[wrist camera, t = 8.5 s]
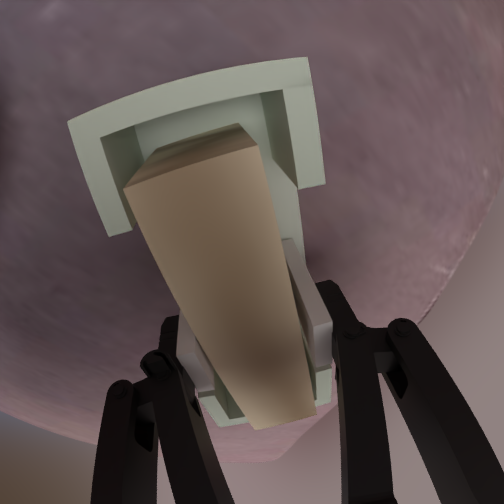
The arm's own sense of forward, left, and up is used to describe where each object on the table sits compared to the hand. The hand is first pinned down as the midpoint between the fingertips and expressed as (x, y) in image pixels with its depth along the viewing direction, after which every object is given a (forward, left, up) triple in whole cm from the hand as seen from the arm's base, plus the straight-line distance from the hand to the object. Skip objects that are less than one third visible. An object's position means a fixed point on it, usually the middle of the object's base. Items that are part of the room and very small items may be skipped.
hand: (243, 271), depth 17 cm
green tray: (0, 0, -1) cm, 1 cm away
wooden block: (0, 0, 0) cm, 0 cm away
